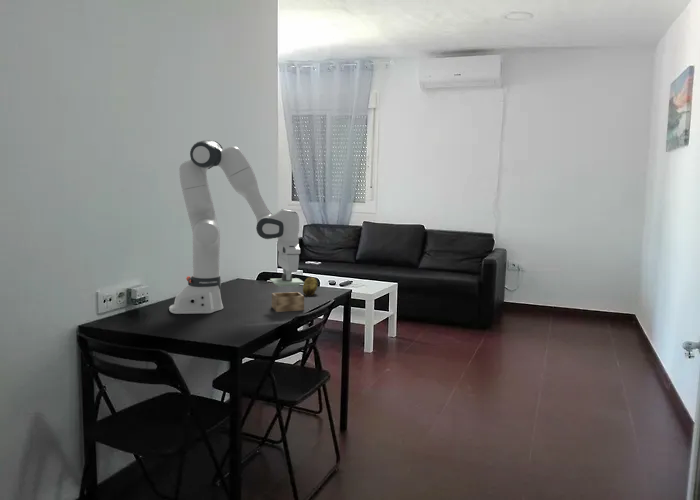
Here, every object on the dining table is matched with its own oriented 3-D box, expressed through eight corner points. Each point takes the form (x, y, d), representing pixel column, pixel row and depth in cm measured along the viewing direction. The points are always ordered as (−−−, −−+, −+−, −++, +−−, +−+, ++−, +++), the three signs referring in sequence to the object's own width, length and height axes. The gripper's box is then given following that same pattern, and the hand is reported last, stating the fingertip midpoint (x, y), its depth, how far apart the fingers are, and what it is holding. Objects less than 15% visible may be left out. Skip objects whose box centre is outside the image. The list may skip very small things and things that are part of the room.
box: (276, 313, 247) (276, 297, 246) (271, 308, 255) (271, 293, 254) (303, 311, 251) (304, 295, 250) (298, 307, 260) (298, 291, 259)
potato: (296, 296, 283) (297, 279, 282) (306, 291, 295) (306, 275, 294) (313, 297, 281) (313, 281, 279) (322, 292, 293) (322, 277, 292)
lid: (275, 287, 245) (275, 276, 245) (269, 283, 254) (270, 272, 254) (303, 286, 250) (304, 276, 249) (297, 282, 259) (298, 272, 258)
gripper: (275, 244, 258) (274, 275, 260) (287, 250, 239) (285, 283, 241) (288, 244, 261) (287, 274, 262) (301, 250, 242) (300, 283, 243)
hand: (286, 279), depth 252 cm, fingers closed on lid, 2 cm apart
